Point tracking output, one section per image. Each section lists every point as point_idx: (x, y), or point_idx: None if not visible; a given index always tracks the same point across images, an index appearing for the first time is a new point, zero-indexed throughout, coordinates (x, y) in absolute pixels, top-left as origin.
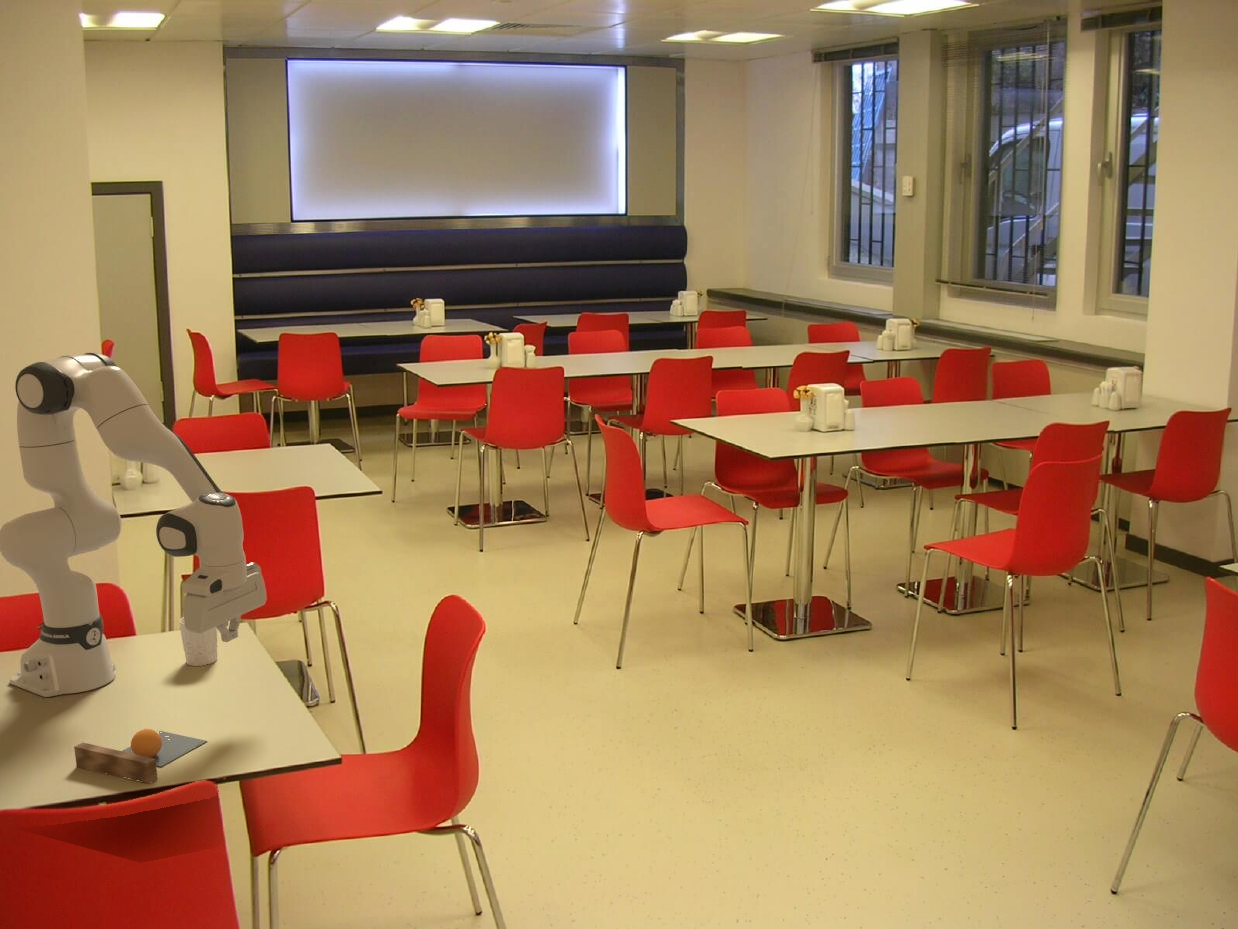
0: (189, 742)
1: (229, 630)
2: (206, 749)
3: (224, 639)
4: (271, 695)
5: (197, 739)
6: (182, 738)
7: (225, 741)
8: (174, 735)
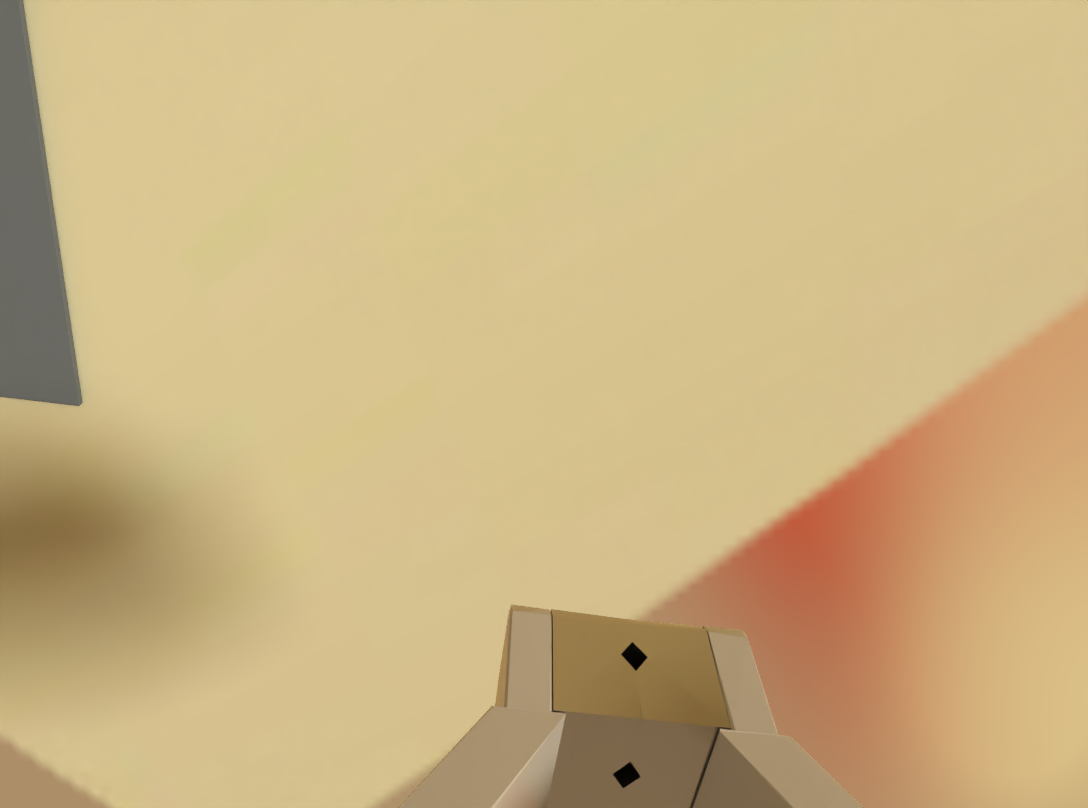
0: (1, 319)
1: (667, 763)
2: (10, 451)
3: (502, 669)
4: (821, 384)
5: (59, 341)
6: (17, 238)
7: (143, 488)
8: (17, 152)
